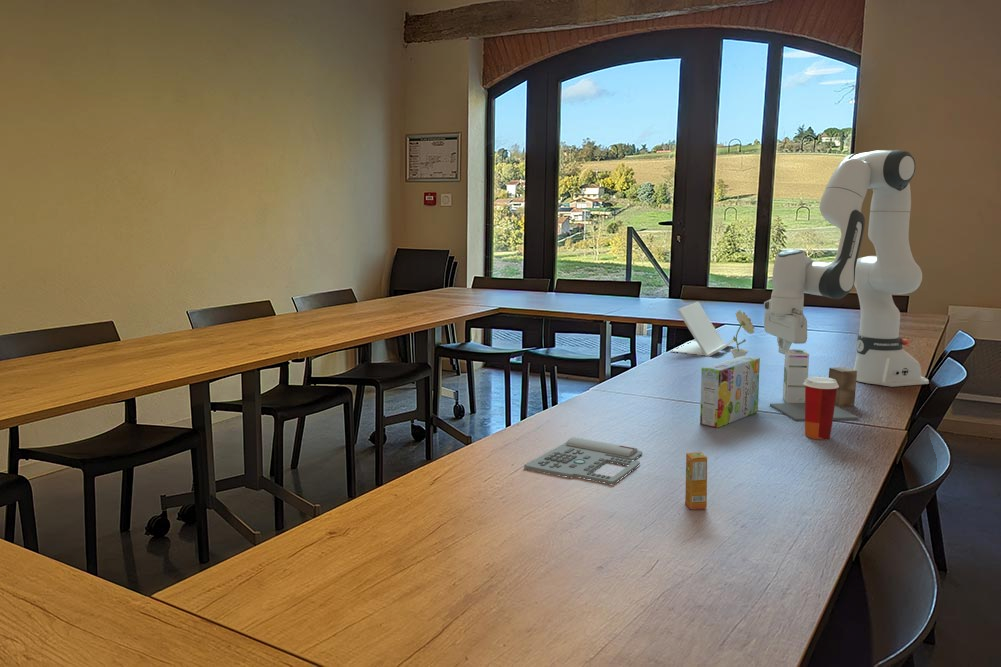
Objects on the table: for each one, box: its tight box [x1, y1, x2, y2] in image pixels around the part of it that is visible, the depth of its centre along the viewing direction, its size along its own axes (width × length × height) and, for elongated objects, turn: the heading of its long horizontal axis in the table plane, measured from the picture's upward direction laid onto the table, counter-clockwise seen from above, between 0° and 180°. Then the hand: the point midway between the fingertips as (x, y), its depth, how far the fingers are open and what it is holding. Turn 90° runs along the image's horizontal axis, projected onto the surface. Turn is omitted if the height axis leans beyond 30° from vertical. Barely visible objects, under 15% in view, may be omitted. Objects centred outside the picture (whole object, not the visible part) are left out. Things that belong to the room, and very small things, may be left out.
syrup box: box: [782, 348, 810, 403], centre depth 212 cm, size 6×6×14 cm
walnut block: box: [828, 366, 857, 408], centre depth 210 cm, size 5×5×10 cm
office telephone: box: [523, 436, 643, 485], centre depth 163 cm, size 23×3×20 cm
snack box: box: [699, 355, 761, 429], centre depth 195 cm, size 21×6×15 cm, turn 135°
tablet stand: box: [670, 301, 736, 357], centre depth 289 cm, size 18×25×17 cm
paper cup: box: [803, 376, 839, 440], centre depth 180 cm, size 8×8×14 cm
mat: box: [769, 402, 859, 422], centre depth 202 cm, size 17×15×1 cm
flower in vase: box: [729, 309, 755, 359], centre depth 217 cm, size 13×11×25 cm
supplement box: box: [684, 451, 708, 510], centre depth 138 cm, size 3×3×10 cm
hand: (783, 353), depth 220 cm, fingers closed
